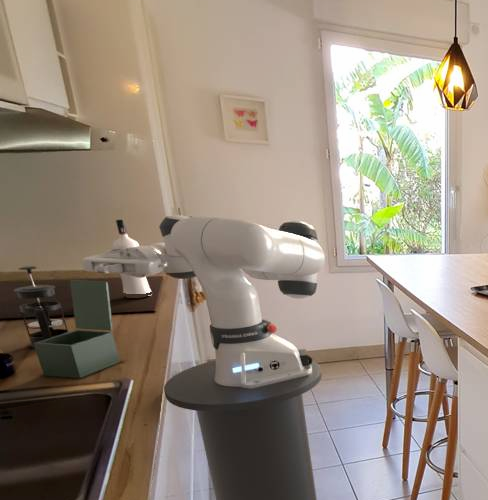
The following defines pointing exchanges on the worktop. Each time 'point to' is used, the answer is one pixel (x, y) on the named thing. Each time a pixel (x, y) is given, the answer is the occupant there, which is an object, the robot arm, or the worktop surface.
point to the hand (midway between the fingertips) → (99, 270)
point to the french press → (40, 310)
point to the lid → (91, 305)
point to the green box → (77, 353)
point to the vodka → (129, 282)
